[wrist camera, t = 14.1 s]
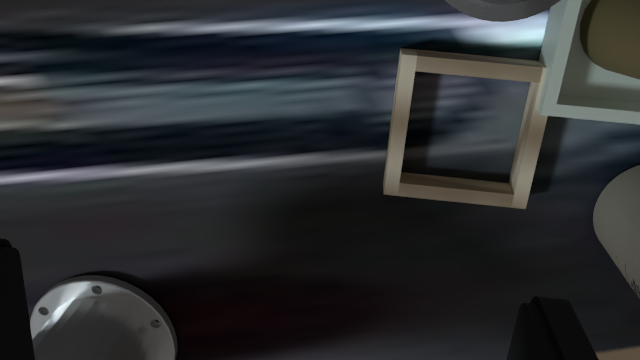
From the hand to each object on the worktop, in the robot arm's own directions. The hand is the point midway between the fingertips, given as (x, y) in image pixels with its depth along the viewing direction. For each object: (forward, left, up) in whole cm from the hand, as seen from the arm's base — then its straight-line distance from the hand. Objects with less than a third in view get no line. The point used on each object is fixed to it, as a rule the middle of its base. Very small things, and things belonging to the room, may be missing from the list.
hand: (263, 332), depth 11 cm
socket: (-6, -9, -32) cm, 34 cm away
